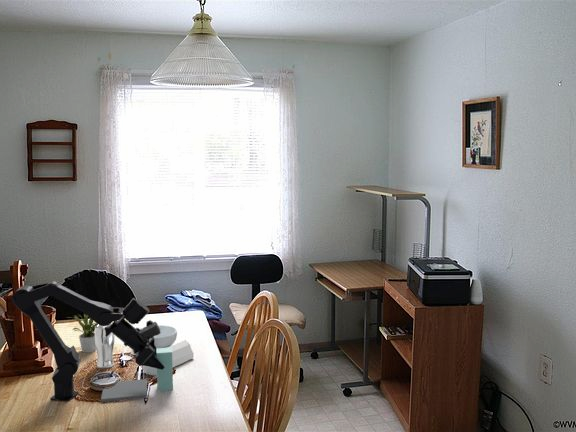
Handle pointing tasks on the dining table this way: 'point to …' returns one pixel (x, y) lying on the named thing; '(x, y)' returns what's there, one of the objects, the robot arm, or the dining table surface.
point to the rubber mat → (125, 391)
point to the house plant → (86, 334)
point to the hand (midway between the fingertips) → (163, 363)
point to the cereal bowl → (165, 336)
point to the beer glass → (104, 347)
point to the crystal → (175, 356)
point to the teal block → (165, 369)
